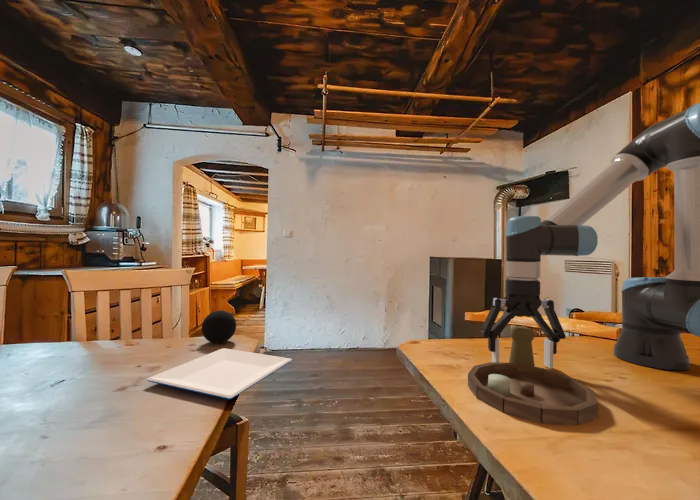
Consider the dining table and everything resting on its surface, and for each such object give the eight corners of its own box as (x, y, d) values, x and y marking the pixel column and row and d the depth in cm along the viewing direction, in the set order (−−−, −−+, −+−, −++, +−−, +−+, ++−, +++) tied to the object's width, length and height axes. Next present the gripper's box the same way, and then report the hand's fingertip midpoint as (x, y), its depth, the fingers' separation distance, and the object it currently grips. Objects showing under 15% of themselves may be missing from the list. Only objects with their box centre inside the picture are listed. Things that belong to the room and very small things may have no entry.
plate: (145, 388, 65) (145, 378, 65) (222, 354, 86) (223, 347, 86) (230, 408, 57) (230, 397, 57) (293, 366, 78) (293, 358, 78)
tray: (551, 378, 72) (552, 364, 72) (631, 434, 50) (631, 413, 50) (456, 374, 73) (456, 360, 74) (492, 427, 52) (492, 406, 52)
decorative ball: (197, 348, 90) (197, 314, 90) (206, 338, 100) (206, 308, 100) (233, 346, 92) (233, 313, 92) (238, 337, 102) (238, 307, 102)
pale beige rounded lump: (504, 388, 64) (505, 374, 64) (513, 397, 60) (513, 382, 60) (485, 387, 64) (485, 373, 64) (492, 396, 60) (492, 381, 60)
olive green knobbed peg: (539, 377, 73) (540, 330, 73) (512, 374, 74) (512, 329, 74) (530, 367, 79) (530, 324, 79) (504, 365, 80) (505, 323, 80)
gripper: (564, 278, 79) (563, 362, 79) (468, 276, 81) (467, 358, 81) (584, 281, 72) (583, 373, 72) (477, 279, 73) (476, 369, 73)
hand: (521, 365), depth 76 cm, fingers open, 12 cm apart
